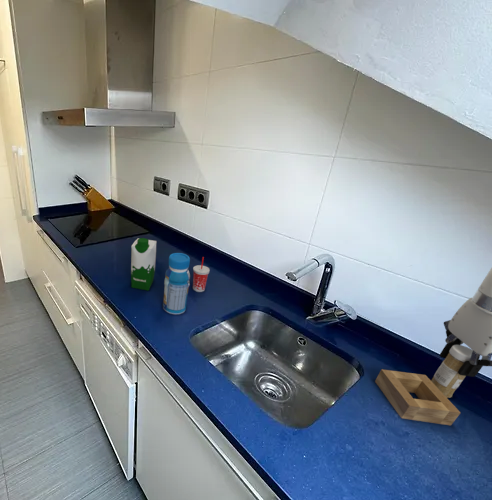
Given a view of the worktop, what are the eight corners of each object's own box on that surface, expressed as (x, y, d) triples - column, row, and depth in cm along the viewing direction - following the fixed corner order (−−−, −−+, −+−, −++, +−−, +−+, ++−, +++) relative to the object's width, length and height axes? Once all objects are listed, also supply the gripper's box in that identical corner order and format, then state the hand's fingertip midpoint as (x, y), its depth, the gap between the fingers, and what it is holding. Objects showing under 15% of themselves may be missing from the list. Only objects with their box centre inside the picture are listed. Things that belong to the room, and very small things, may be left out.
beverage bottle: (174, 318, 94) (179, 265, 86) (157, 306, 100) (160, 255, 92) (191, 309, 99) (198, 258, 91) (174, 298, 105) (179, 249, 97)
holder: (417, 387, 73) (425, 374, 71) (450, 426, 64) (460, 412, 62) (374, 381, 74) (381, 369, 72) (401, 418, 65) (409, 405, 63)
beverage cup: (203, 295, 107) (208, 262, 102) (188, 290, 110) (192, 258, 104) (208, 287, 112) (213, 256, 106) (194, 283, 115) (198, 252, 109)
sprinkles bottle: (455, 400, 70) (486, 360, 64) (433, 395, 71) (460, 355, 65) (444, 385, 74) (471, 346, 68) (423, 380, 75) (448, 341, 69)
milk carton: (128, 288, 110) (129, 240, 101) (135, 277, 118) (136, 232, 109) (150, 292, 108) (153, 244, 99) (156, 280, 116) (159, 235, 107)
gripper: (566, 332, 53) (509, 399, 61) (481, 284, 68) (444, 343, 76) (520, 327, 54) (469, 394, 62) (447, 281, 69) (413, 339, 77)
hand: (456, 365), depth 69 cm, fingers closed on sprinkles bottle, 4 cm apart
